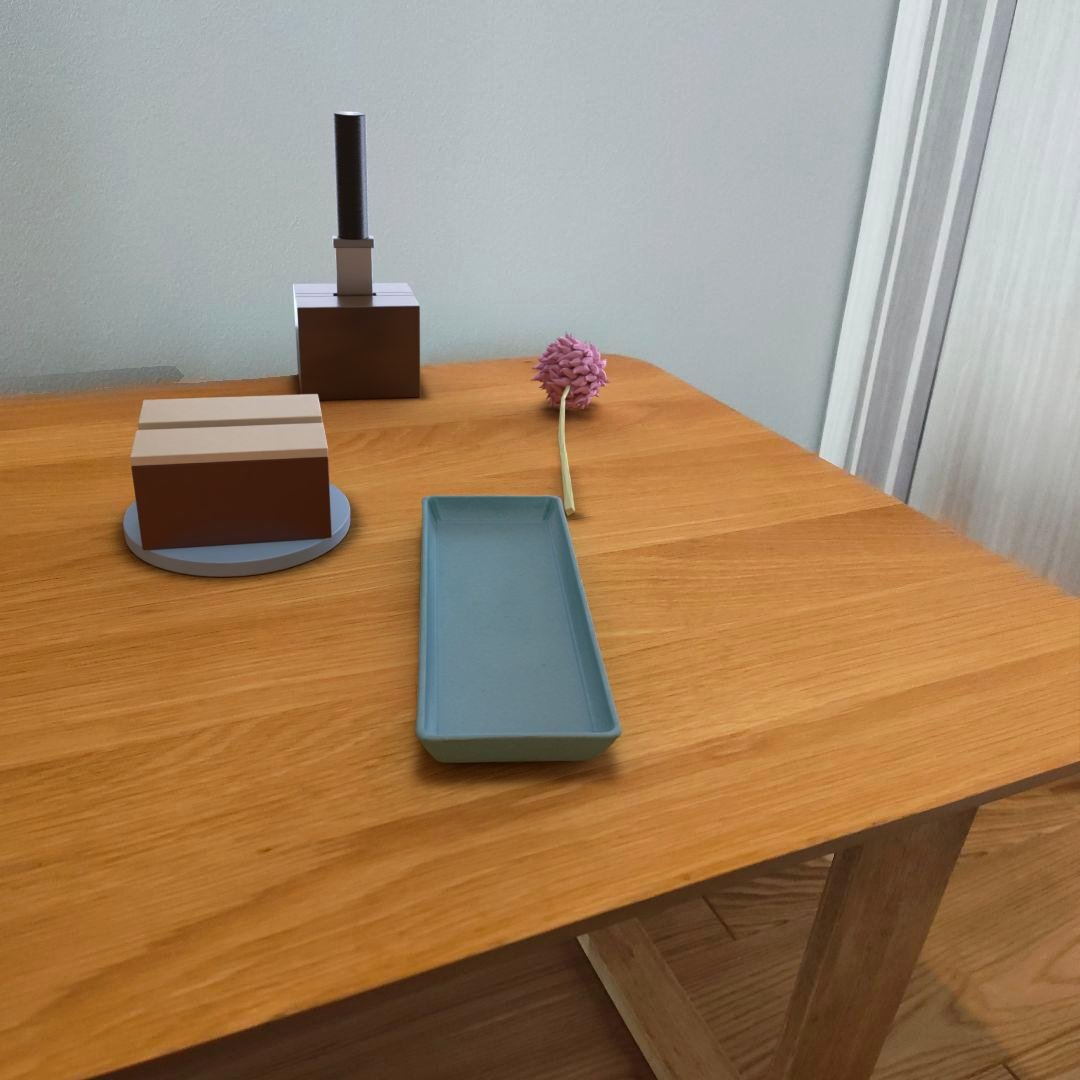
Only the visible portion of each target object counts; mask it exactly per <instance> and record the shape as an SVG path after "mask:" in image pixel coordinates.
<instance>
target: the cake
mask: <svg viewBox="0 0 1080 1080" xmlns="http://www.w3.org/2000/svg"><path fill="white" fill-rule="evenodd" d="M137 421H138V422H137V426H138V429H137V430H136V431H135V435H134V438H133V443H132V447H131V451H130V454H129V461H130V465H131V466H130V467H131V468H130V469H131V475H132V482H133V484H132V485H133V490H134V498H135V500H134V501H133V502H132V503H131V504H130V505H129V507H128V508H127V510H126V511H125V513H124V516H123V519H122V528H123V535H124V539H125V543H126V545H127V547H128V548H129V550H130V551H131V552H132V553H133V554H134V555H135V556H136V557H138V558H139V559H141V560H142V561H144V562H146V563H148V564H149V565H152V566H154V567H157V568H159V569H162V570H164V571H169V572H173V573H178V574H183V575H190V576H197V577H212V578H213V577H217V578H219V577H220V578H228V577H247V576H255V575H262V574H267V573H273V572H278V571H282V570H286V569H289V568H293V567H296V566H300V565H303V564H305V563H307V562H311V561H312V560H314V559H317V558H319V557H321V556H323V555H325V554H326V553H328V552H329V551H331V550H332V549H334V548H336V546H337V545H338V544H340V543H341V541H343V539H344V538H345V537H346V535H347V533H348V532H349V530H350V526H351V504H350V502H349V499H348V497H346V495H345V494H344V492H343V491H341V490H340V489H339V488H338V487H337V486H335V485H334V484H332V483H331V482H330V469H329V468H330V467H329V466H330V464H329V447H328V442H327V437H326V430H325V425H324V422H323V415H322V409H321V403H320V400H319V398H318V394H304V395H301V394H279V395H277V394H276V395H249V396H248V395H247V396H244V395H243V396H219V397H217V396H216V397H189V398H163V399H162V398H159V399H143V400H142V405H141V409H140V414H139V417H138V420H137Z"/></svg>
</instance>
